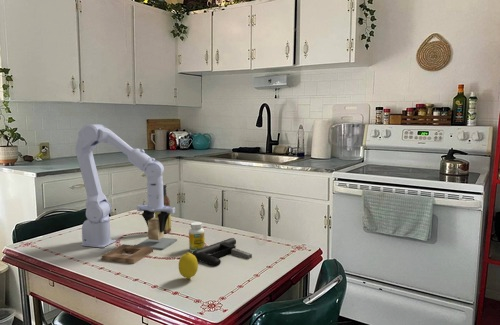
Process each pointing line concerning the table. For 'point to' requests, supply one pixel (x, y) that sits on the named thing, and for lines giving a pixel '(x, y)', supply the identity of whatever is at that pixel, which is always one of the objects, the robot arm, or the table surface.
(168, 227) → the sauce bottle
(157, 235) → the beech block
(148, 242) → the grey square plate
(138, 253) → the brown wooden square frame
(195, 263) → the lemon
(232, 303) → the table surface
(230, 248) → the toy gun
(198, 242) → the supplement bottle
